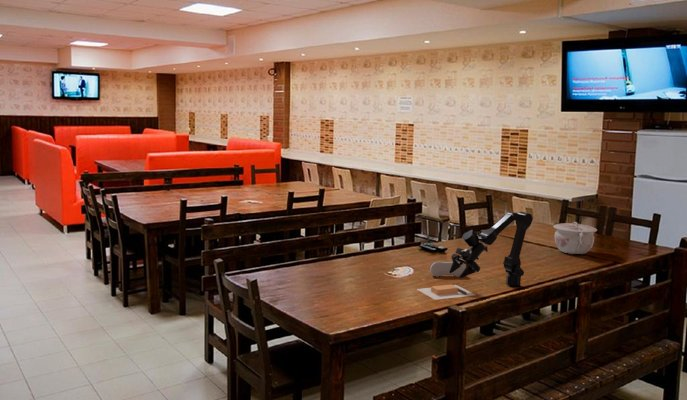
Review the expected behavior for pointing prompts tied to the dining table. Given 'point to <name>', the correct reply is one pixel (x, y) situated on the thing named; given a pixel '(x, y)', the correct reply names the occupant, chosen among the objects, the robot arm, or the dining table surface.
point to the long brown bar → (462, 291)
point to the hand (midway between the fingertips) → (454, 275)
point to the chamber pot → (574, 237)
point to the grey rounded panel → (445, 269)
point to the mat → (444, 296)
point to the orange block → (444, 289)
